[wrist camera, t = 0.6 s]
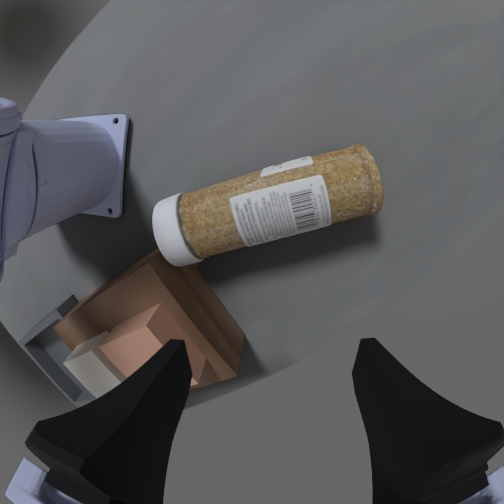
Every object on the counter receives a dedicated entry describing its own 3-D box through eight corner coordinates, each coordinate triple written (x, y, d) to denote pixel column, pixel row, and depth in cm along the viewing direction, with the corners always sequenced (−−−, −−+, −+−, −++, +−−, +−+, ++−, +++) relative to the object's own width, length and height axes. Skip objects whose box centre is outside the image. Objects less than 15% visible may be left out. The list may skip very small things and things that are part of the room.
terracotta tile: (161, 302, 16) (145, 325, 14) (206, 357, 17) (198, 383, 15) (114, 326, 17) (98, 347, 15) (156, 373, 19) (146, 396, 16)
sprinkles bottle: (356, 129, 15) (154, 187, 17) (390, 175, 12) (144, 242, 14) (357, 181, 18) (184, 228, 20) (382, 229, 16) (182, 280, 18)
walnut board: (175, 236, 20) (148, 262, 15) (244, 334, 22) (237, 376, 18) (80, 300, 23) (52, 327, 18) (140, 371, 26) (123, 404, 21)
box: (72, 294, 23) (56, 309, 20) (143, 378, 26) (134, 397, 23) (31, 329, 26) (18, 341, 23) (85, 392, 29) (76, 406, 27)
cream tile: (107, 330, 17) (91, 350, 15) (148, 376, 19) (137, 398, 17) (77, 345, 19) (63, 363, 16) (114, 385, 20) (103, 404, 18)
